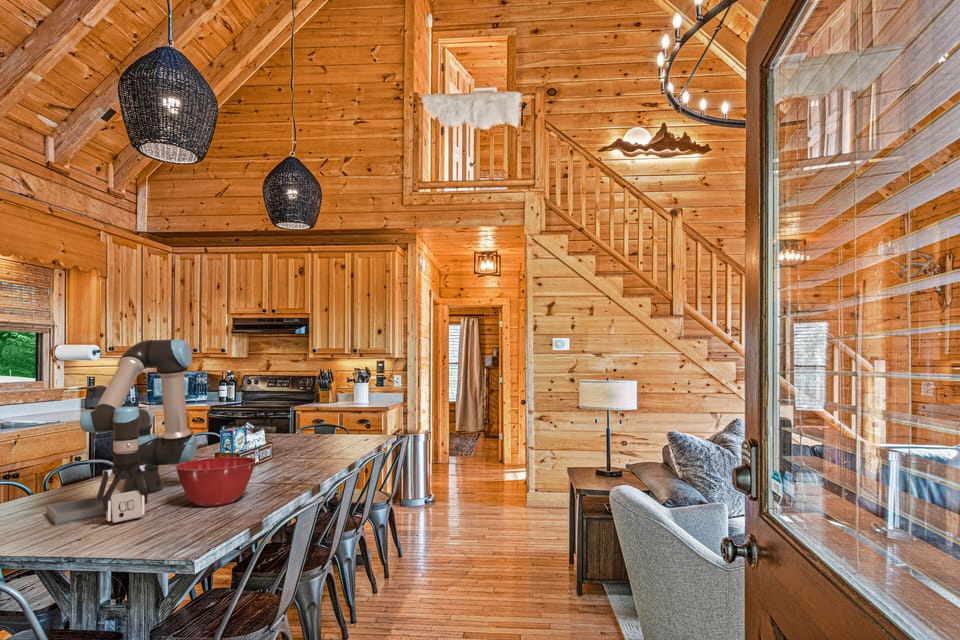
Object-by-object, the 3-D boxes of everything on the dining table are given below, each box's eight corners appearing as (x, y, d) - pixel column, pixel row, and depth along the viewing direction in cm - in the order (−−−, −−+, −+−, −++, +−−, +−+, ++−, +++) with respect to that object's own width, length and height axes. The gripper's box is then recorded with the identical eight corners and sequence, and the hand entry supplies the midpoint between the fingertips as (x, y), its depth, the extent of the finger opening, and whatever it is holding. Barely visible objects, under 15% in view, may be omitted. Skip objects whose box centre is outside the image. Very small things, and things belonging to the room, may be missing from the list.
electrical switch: (112, 523, 198) (112, 495, 199) (107, 522, 201) (106, 494, 202) (142, 517, 205) (142, 490, 206) (136, 516, 208) (136, 489, 209)
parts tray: (109, 504, 228) (110, 495, 228) (122, 513, 214) (122, 504, 214) (46, 514, 214) (46, 505, 215) (55, 525, 200) (55, 515, 200)
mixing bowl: (199, 493, 242) (199, 456, 243) (267, 493, 241) (267, 455, 242) (159, 512, 214) (159, 470, 215) (236, 512, 213) (236, 469, 214)
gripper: (90, 457, 194) (90, 526, 193) (164, 448, 209) (163, 512, 208) (86, 455, 199) (85, 521, 198) (157, 446, 214) (157, 508, 214)
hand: (125, 516), depth 203 cm, fingers closed on electrical switch, 9 cm apart
